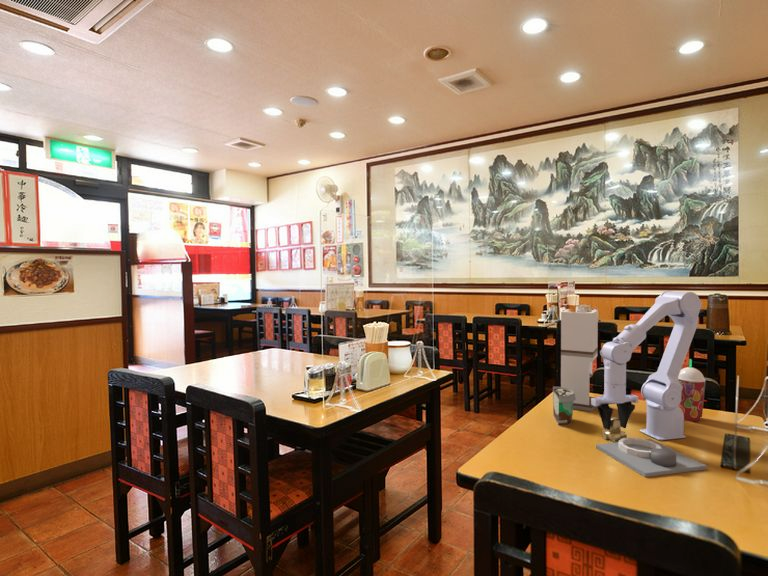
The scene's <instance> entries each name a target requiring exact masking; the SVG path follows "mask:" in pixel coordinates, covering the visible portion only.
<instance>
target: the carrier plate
mask: <svg viewBox="0 0 768 576" xmlns="http://www.w3.org/2000/svg"><path fill="white" fill-rule="evenodd" d="M595 448H596V449H597V450H598V451H600V452H602V453H604V454H606V455H607V456H609V457H610V456H611V458H612V459H614V460H615V459H616V461H618V462H619V463H620V462H621V463H620V464H622V465H623V466H625V465H626V466H625V467H627V468H629V469H630V470H632V471H633V472H636V473H637V474H639V475H640V476H643V478H648V477H657V476H664V475H672V474H679V473H680V474H681V473H688V472H694V471H695V472H697V471H704V470H707V469H708V468H707V467H708V466H707V465H706V464H704V463H703V462H701V461H698V460H696V459H694V458H692V457H690V456H688V455H685V454H684V453H681V452H679V451H678V450H676V449H673V448H671V447H669V446H668V445H667V446H666V445H664V444H662V443H660V442H658V441H656V440H654V439H652V438H646V439H644V438H641V437H640V438H639V437H627V438H622V439H620V440H619V442H607V443H599V444H596V445H595Z"/></svg>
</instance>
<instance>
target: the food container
mask: <svg viewBox="0 0 768 576" xmlns="http://www.w3.org/2000/svg"><path fill="white" fill-rule="evenodd" d="M574 400H576V397H575V394H574V392H573V391H572V390H570V389H567V388H563V387H561V386H552V406H553V407H552V408H553V414H552V415H553V418H554V419H555V421H556V424H557V425H558V426H568V425H570V424H572V423H573V422H572V421H573V412H574V410H573V401H574Z"/></svg>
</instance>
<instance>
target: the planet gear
mask: <svg viewBox="0 0 768 576" xmlns="http://www.w3.org/2000/svg"><path fill="white" fill-rule="evenodd" d="M621 428H622V427H621V419H619V418H618V417H616V416H611V427H610V430H607V429H602V431H601V433H602V434H601V435H602V436H601V437H603V439H604V441H605V440H606V441H609V440H610V443H616V442H615V441H617V442H619V440H620V439H622V438H628V434H627V433H626V432H625V430H622V429H621Z"/></svg>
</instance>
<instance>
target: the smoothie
mask: <svg viewBox="0 0 768 576" xmlns="http://www.w3.org/2000/svg"><path fill="white" fill-rule="evenodd" d="M692 363H693V360H692V359H691V358H689V363H688V364H689V365H688V366H687V367H682V368H681V371H680V373H679V376H678V381H679V382H680V384H681V385H682V387H683V388H682V391H681V402H680V404H679V405H678V407H679V408H680V409H681V410H682V412H683V415H684V421H689V422H699V421H700V420H701V418H702V417H703V410H704V401H705V400H704V399H705V390H706V380H707V379H706V378H705V376H704V374H703V373H702V372H701V371H700V370H699V369H697V368H695V367H692V366H693V364H692Z"/></svg>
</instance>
